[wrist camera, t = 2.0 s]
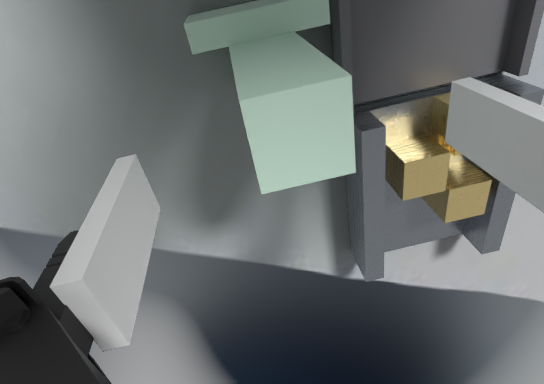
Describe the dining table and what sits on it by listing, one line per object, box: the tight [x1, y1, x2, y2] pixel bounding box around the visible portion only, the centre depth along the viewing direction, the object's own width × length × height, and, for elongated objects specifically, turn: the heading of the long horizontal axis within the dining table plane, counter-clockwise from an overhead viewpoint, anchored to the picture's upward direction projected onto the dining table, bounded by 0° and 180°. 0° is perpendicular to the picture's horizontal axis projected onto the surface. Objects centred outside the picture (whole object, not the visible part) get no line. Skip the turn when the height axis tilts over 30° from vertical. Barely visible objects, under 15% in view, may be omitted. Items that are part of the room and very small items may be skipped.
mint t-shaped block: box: [183, 0, 356, 194], centre depth 20 cm, size 6×9×16 cm
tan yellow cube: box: [424, 160, 492, 223], centre depth 33 cm, size 4×4×4 cm
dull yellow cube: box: [430, 92, 462, 156], centre depth 29 cm, size 4×4×4 cm
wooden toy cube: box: [385, 133, 451, 201], centre depth 31 cm, size 4×4×4 cm
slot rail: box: [346, 74, 544, 281], centre depth 34 cm, size 18×15×5 cm
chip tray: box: [329, 0, 544, 114], centre depth 26 cm, size 12×16×2 cm
